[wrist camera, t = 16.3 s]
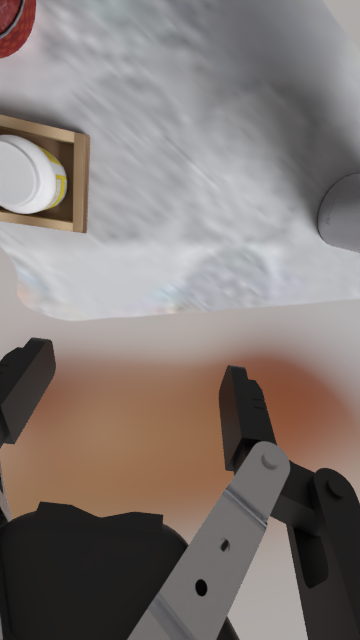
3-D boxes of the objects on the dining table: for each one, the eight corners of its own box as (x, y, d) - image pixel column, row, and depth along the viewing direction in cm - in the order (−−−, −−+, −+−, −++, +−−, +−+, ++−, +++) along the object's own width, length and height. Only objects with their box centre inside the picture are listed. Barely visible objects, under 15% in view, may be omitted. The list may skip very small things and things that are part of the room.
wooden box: (90, 137, 27) (87, 131, 24) (86, 231, 31) (84, 235, 28) (-16, 112, 25) (-33, 102, 22) (-6, 218, 28) (-19, 221, 25)
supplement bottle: (-3, 153, 25) (-64, 133, 16) (56, 142, 26) (26, 117, 17) (24, 214, 28) (-17, 224, 19) (76, 202, 28) (60, 207, 20)
